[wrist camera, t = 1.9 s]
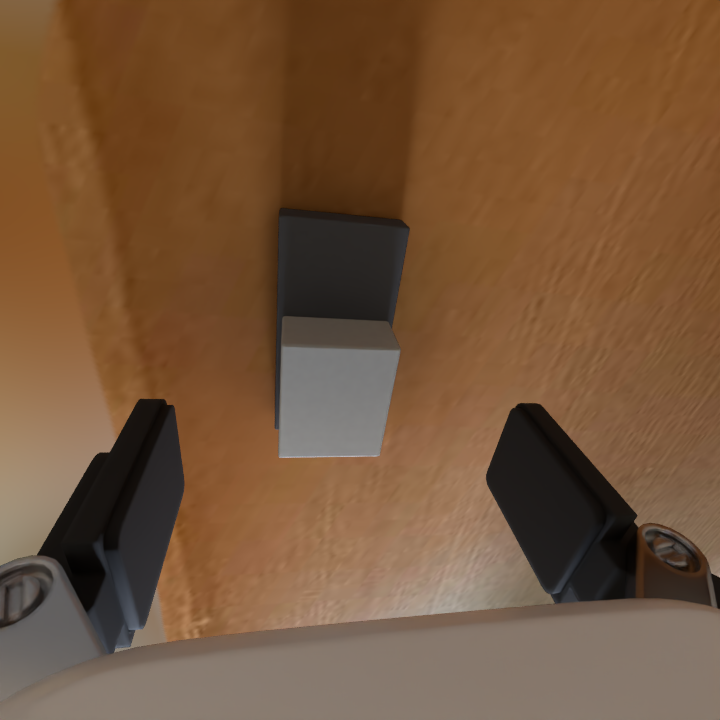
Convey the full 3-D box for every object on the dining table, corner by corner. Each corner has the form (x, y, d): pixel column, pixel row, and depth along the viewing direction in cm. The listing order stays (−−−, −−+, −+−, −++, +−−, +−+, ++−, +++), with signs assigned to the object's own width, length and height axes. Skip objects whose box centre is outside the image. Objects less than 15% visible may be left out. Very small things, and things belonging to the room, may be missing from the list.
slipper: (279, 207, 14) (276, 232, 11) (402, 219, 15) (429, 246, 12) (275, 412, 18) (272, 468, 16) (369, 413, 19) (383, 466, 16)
